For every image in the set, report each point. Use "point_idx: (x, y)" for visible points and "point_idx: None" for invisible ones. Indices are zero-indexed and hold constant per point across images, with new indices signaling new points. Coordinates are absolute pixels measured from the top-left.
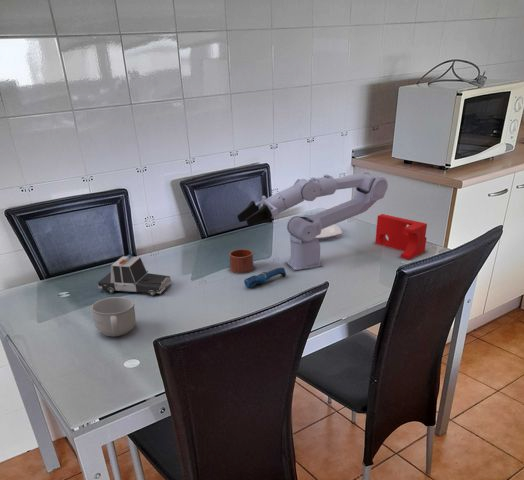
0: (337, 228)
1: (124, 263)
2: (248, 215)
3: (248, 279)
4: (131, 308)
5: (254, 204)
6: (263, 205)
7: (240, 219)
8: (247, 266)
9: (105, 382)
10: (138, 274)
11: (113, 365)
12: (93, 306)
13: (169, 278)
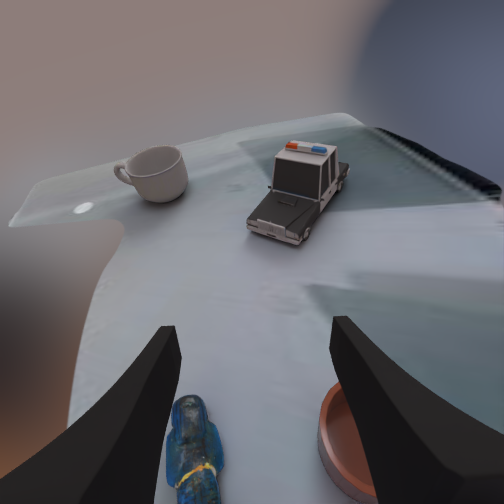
0: None
1: (294, 151)
2: (361, 408)
3: (177, 403)
4: (130, 175)
5: (432, 480)
6: (60, 486)
7: (333, 345)
8: (321, 452)
9: (72, 192)
10: (291, 184)
11: (95, 195)
12: (165, 147)
13: (294, 236)
